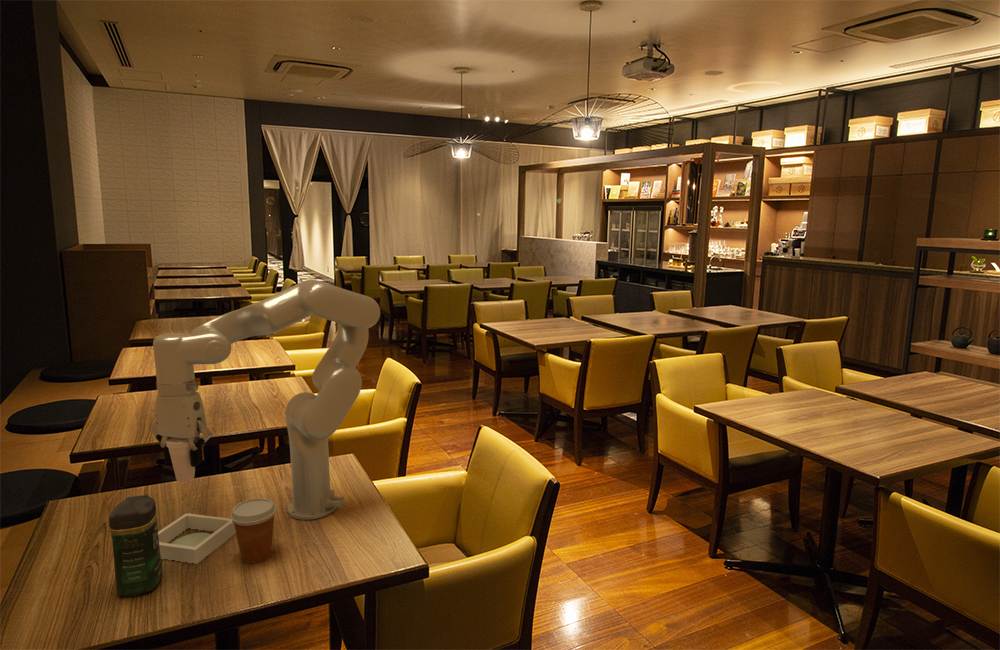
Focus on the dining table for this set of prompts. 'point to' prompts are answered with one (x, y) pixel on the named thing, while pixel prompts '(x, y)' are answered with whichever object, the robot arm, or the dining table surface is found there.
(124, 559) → the coffee jar
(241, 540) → the disposable coffee cup
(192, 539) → the pale green round spot
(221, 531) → the white square frame
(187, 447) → the smoothie
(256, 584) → the dining table surface
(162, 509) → the dining table surface
